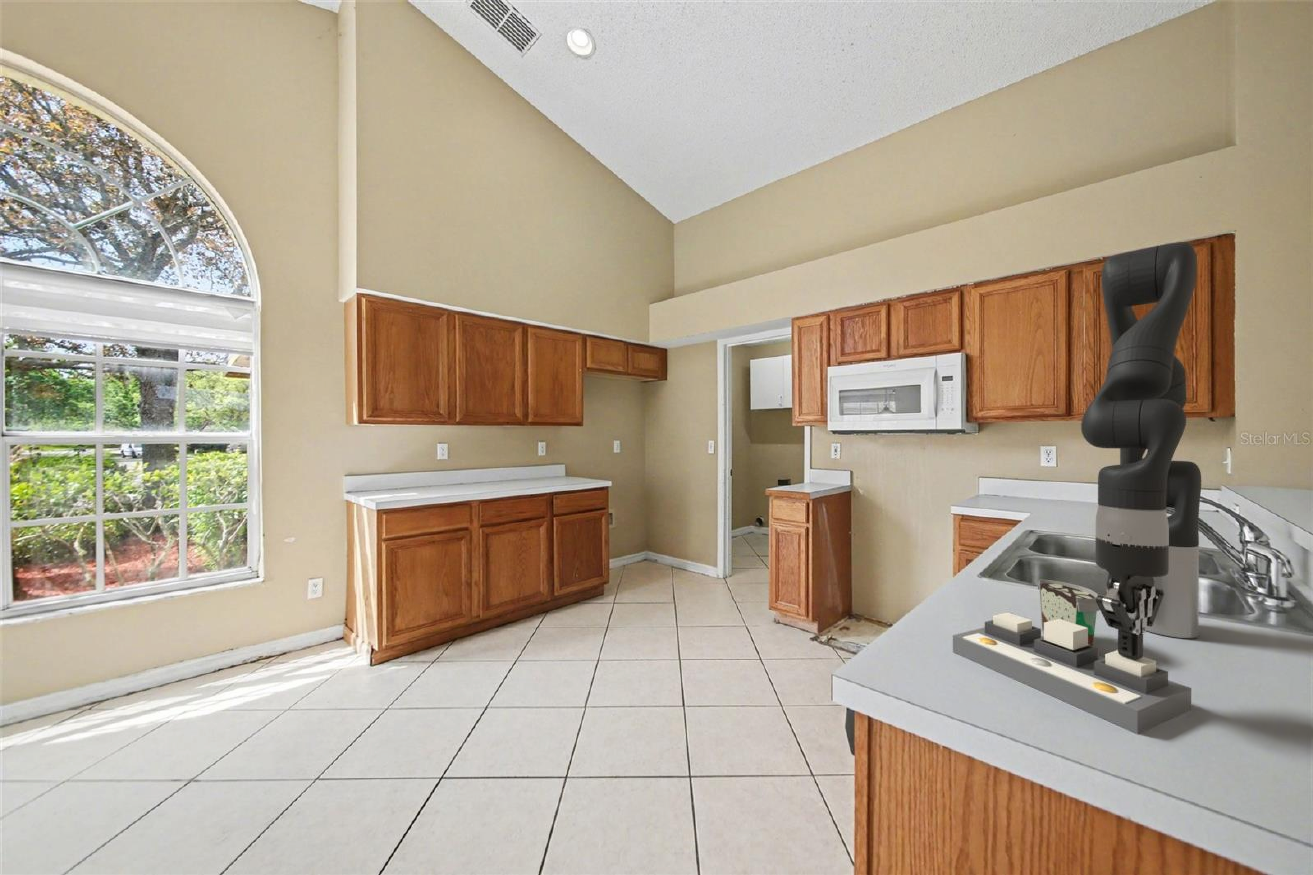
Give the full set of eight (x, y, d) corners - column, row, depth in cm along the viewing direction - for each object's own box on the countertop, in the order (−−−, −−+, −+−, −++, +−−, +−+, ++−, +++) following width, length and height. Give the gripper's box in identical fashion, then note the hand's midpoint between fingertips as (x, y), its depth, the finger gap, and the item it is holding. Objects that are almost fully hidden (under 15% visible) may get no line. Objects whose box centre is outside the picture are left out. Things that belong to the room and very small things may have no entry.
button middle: (1058, 635, 79) (1058, 618, 79) (1087, 645, 75) (1088, 628, 75) (1043, 639, 78) (1043, 622, 78) (1072, 650, 74) (1073, 632, 74)
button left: (1007, 627, 86) (1007, 612, 86) (1031, 636, 83) (1031, 620, 83) (993, 631, 85) (993, 615, 85) (1017, 640, 81) (1017, 624, 81)
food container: (1120, 660, 81) (1121, 602, 81) (1079, 657, 82) (1079, 600, 82) (1073, 631, 93) (1073, 580, 93) (1037, 628, 94) (1037, 578, 94)
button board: (1003, 638, 90) (1003, 612, 90) (1191, 709, 67) (1191, 674, 67) (952, 652, 85) (952, 624, 85) (1137, 734, 62) (1137, 695, 61)
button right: (1120, 667, 72) (1120, 649, 72) (1156, 680, 68) (1156, 661, 68) (1105, 673, 70) (1105, 654, 70) (1141, 686, 66) (1141, 666, 66)
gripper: (1122, 529, 75) (1122, 639, 75) (1072, 536, 70) (1072, 654, 70) (1190, 539, 68) (1189, 660, 68) (1140, 548, 63) (1139, 678, 63)
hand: (1130, 656), depth 69 cm, fingers closed
